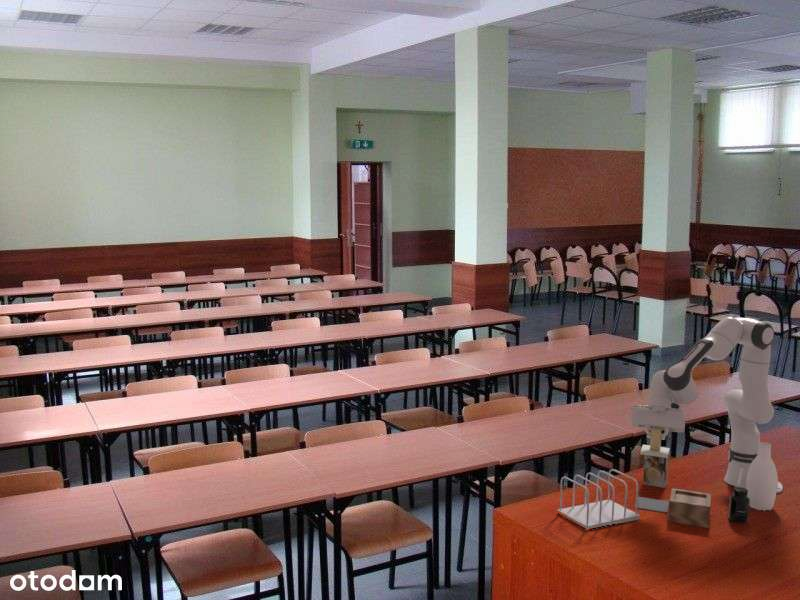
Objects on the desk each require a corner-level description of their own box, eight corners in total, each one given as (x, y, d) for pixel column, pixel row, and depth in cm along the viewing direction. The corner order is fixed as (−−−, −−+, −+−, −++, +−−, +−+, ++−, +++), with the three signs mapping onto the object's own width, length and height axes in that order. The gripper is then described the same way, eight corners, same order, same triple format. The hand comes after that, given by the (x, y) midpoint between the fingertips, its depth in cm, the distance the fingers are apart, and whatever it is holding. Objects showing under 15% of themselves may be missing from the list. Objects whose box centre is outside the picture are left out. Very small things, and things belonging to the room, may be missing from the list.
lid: (669, 450, 302) (670, 428, 301) (667, 458, 292) (669, 435, 291) (642, 447, 306) (644, 424, 304) (640, 454, 296) (641, 431, 295)
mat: (669, 502, 305) (669, 501, 305) (666, 513, 294) (666, 512, 294) (637, 497, 309) (637, 496, 309) (634, 507, 298) (634, 506, 298)
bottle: (745, 509, 299) (750, 446, 296) (743, 499, 309) (748, 438, 306) (777, 514, 295) (782, 449, 292) (774, 503, 305) (779, 441, 302)
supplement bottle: (739, 524, 284) (742, 493, 283) (724, 518, 290) (726, 487, 289) (752, 521, 287) (754, 490, 286) (736, 515, 293) (739, 484, 292)
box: (709, 514, 293) (711, 494, 292) (708, 528, 281) (710, 507, 280) (670, 508, 299) (672, 488, 298) (668, 521, 286) (669, 500, 285)
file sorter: (608, 504, 302) (610, 465, 301) (640, 520, 287) (642, 480, 285) (556, 513, 292) (558, 474, 290) (586, 531, 276) (588, 489, 274)
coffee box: (667, 483, 326) (669, 446, 324) (665, 488, 320) (667, 451, 318) (645, 479, 330) (647, 443, 328) (642, 484, 324) (644, 447, 322)
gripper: (631, 400, 307) (627, 430, 299) (686, 406, 299) (683, 437, 292) (632, 408, 312) (628, 438, 304) (686, 414, 304) (683, 445, 296)
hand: (655, 438), depth 298 cm, fingers closed on lid, 4 cm apart
